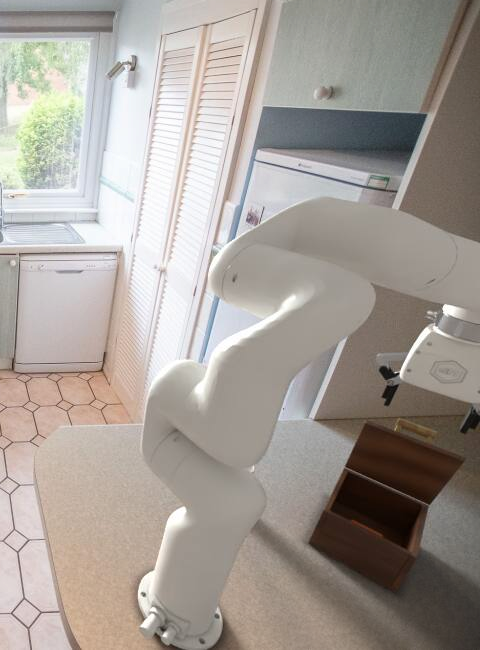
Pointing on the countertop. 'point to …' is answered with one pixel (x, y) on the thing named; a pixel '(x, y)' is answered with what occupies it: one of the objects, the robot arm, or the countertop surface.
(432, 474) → the lid
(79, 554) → the countertop surface
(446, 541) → the countertop surface
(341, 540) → the chest
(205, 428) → the robot arm
